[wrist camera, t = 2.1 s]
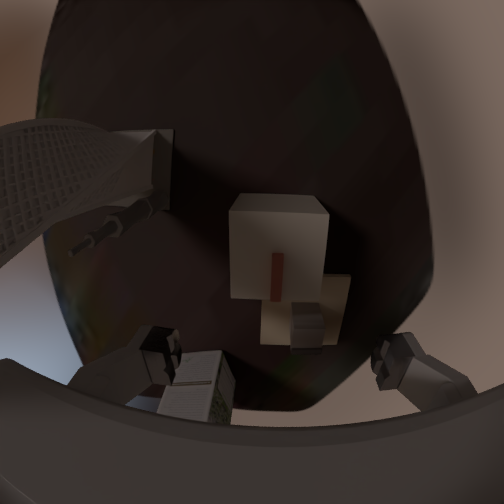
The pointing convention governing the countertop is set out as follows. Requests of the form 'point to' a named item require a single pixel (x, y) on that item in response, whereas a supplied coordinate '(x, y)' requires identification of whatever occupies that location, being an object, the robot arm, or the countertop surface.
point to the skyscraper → (78, 178)
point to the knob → (277, 247)
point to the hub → (307, 318)
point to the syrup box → (201, 389)
